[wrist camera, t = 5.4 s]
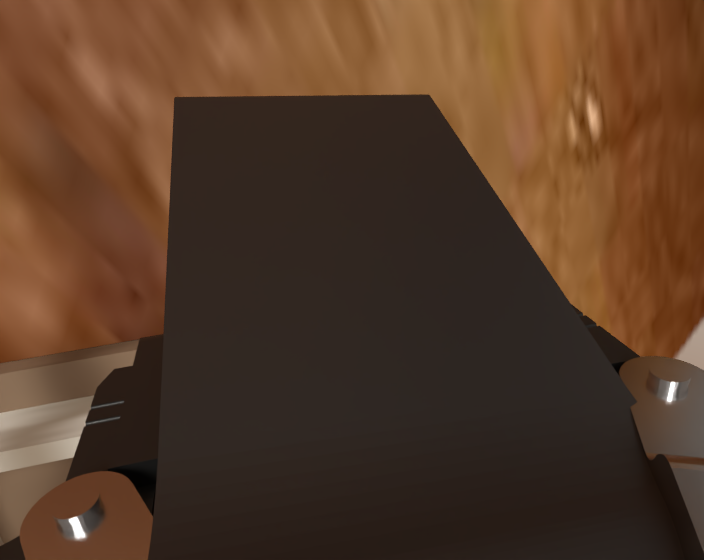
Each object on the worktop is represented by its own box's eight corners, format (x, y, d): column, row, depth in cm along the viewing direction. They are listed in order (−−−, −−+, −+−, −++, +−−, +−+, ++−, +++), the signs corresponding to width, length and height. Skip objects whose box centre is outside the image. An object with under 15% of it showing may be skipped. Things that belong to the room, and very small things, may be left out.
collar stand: (219, 325, 27) (221, 368, 24) (268, 574, 35) (275, 635, 31) (-149, 389, 24) (-211, 449, 21) (-9, 646, 32) (-36, 723, 28)
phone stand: (175, 93, 12) (-59, 451, 2) (425, 93, 14) (1162, 301, 3) (209, 415, 16) (199, 1165, 5) (404, 391, 17) (707, 961, 7)
